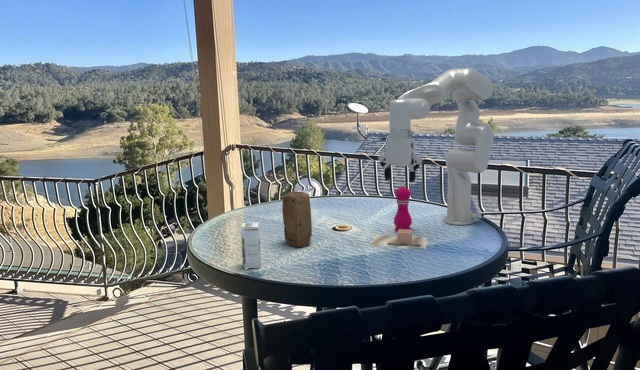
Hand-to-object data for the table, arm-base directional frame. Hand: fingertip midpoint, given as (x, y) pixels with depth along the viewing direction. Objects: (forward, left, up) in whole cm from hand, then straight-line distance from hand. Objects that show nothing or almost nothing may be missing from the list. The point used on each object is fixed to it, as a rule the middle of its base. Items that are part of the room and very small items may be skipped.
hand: (399, 180), depth 173 cm
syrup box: (+46, +33, -24) cm, 62 cm away
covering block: (-2, +2, -23) cm, 23 cm away
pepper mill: (0, -13, -24) cm, 27 cm away
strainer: (+45, -21, -24) cm, 55 cm away
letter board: (0, +2, -24) cm, 24 cm away
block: (+38, +8, -24) cm, 46 cm away
